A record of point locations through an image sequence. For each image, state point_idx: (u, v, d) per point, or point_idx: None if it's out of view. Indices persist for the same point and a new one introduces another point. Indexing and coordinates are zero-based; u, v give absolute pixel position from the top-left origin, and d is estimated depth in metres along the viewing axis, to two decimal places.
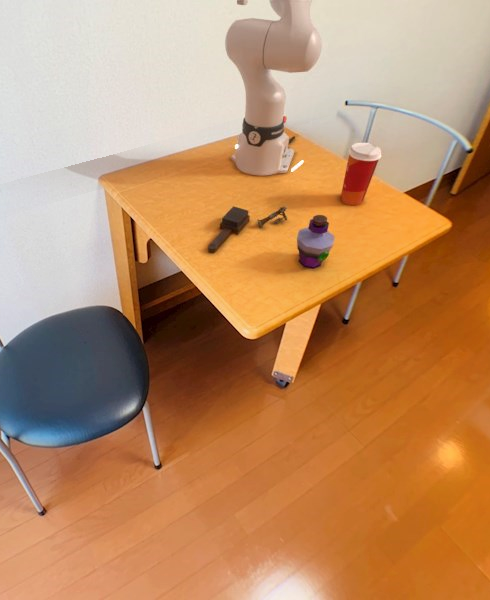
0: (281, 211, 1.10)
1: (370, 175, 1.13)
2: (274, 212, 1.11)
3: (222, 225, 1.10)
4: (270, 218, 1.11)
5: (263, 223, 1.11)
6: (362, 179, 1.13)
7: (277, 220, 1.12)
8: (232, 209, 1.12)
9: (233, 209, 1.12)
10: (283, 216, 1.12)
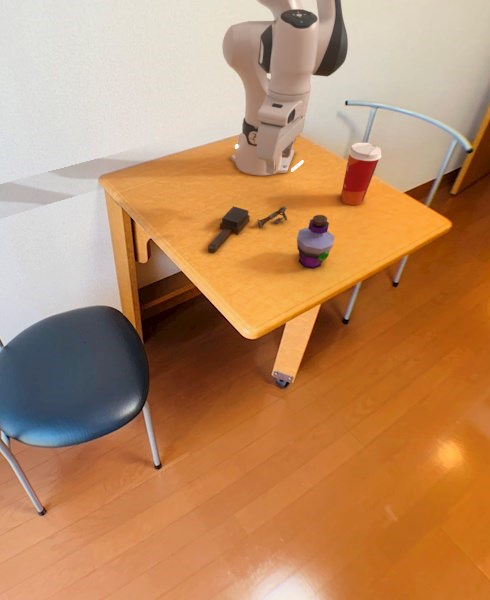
0: (281, 211, 1.10)
1: (370, 175, 1.13)
2: (274, 212, 1.11)
3: (222, 225, 1.10)
4: (270, 218, 1.11)
5: (263, 223, 1.11)
6: (362, 179, 1.13)
7: (277, 220, 1.12)
8: (232, 209, 1.12)
9: (233, 209, 1.12)
10: (283, 216, 1.12)
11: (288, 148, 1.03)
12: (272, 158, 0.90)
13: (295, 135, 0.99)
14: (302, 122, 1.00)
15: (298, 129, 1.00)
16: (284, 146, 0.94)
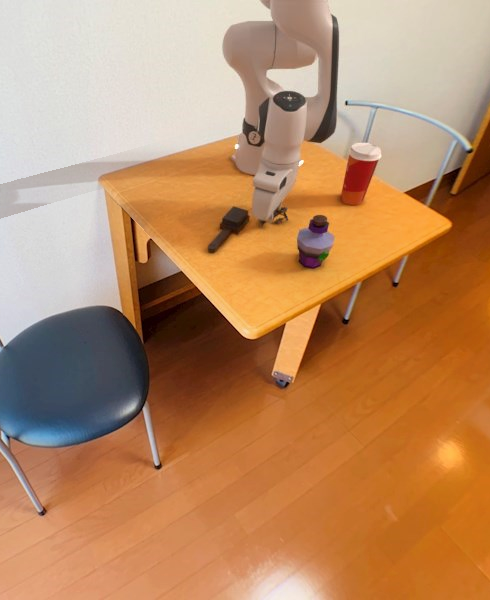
0: (282, 211, 1.10)
1: (370, 175, 1.13)
2: (275, 212, 1.11)
3: (222, 225, 1.10)
4: None
5: (263, 222, 1.11)
6: (362, 179, 1.13)
7: (278, 220, 1.12)
8: (232, 209, 1.12)
9: (233, 209, 1.12)
10: (284, 216, 1.12)
11: (277, 207, 1.11)
12: (266, 218, 1.01)
13: (287, 192, 1.09)
14: (294, 179, 1.10)
15: (290, 186, 1.10)
16: (277, 205, 1.05)
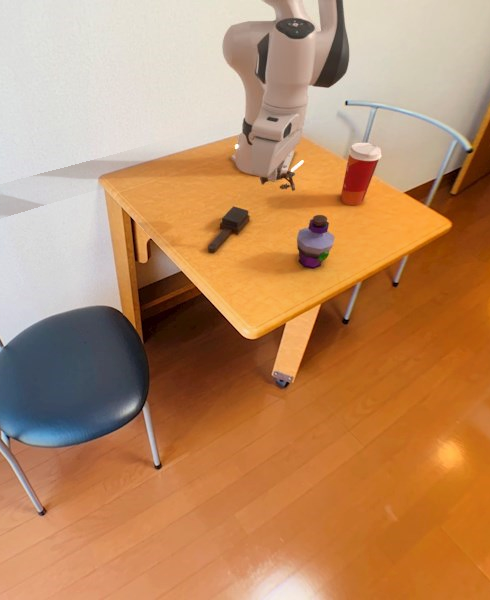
0: (287, 175, 0.94)
1: (370, 175, 1.13)
2: (281, 174, 0.96)
3: (222, 225, 1.10)
4: None
5: (265, 180, 0.98)
6: (362, 179, 1.13)
7: (282, 185, 0.97)
8: (232, 209, 1.12)
9: (233, 209, 1.12)
10: (291, 184, 0.96)
11: (279, 167, 0.96)
12: (267, 174, 0.86)
13: (292, 148, 0.94)
14: (299, 134, 0.96)
15: (295, 142, 0.95)
16: (280, 160, 0.90)
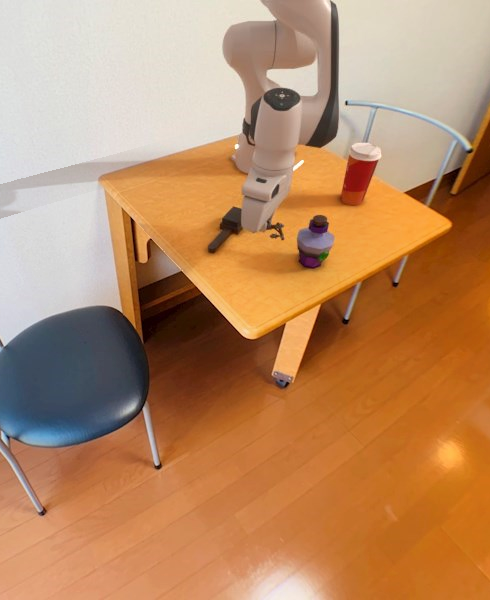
0: (276, 226, 0.99)
1: (370, 175, 1.13)
2: (271, 224, 1.00)
3: (222, 225, 1.10)
4: None
5: None
6: (362, 179, 1.13)
7: (272, 235, 1.01)
8: (232, 209, 1.12)
9: (233, 209, 1.12)
10: (280, 234, 1.00)
11: (269, 218, 1.00)
12: (257, 230, 0.90)
13: (281, 200, 0.99)
14: (288, 186, 1.00)
15: (284, 194, 1.00)
16: (269, 215, 0.94)
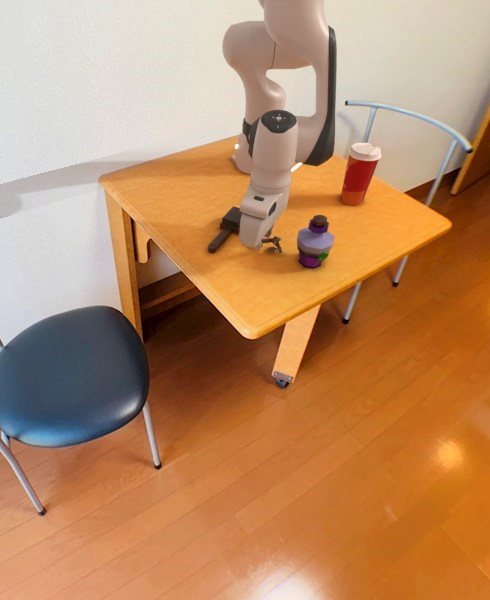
0: (273, 240, 1.01)
1: (370, 175, 1.13)
2: (268, 238, 1.03)
3: (222, 225, 1.10)
4: (262, 241, 1.04)
5: None
6: (362, 179, 1.13)
7: (270, 248, 1.04)
8: (232, 209, 1.12)
9: (233, 209, 1.12)
10: None
11: (269, 228, 1.04)
12: (254, 246, 0.93)
13: (278, 215, 1.02)
14: None
15: (282, 209, 1.03)
16: (267, 230, 0.97)
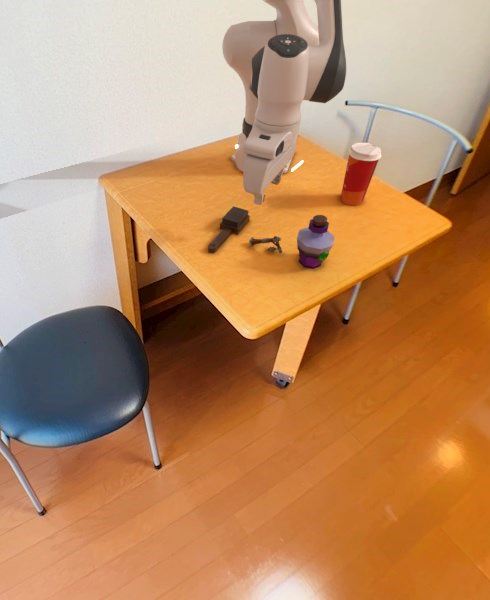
0: (273, 240, 1.01)
1: (370, 175, 1.13)
2: (268, 238, 1.03)
3: (222, 225, 1.10)
4: (262, 241, 1.04)
5: (254, 243, 1.05)
6: (362, 179, 1.13)
7: (270, 248, 1.04)
8: (232, 209, 1.12)
9: (233, 209, 1.12)
10: None
11: (278, 175, 0.97)
12: (259, 192, 0.85)
13: (285, 162, 0.93)
14: (293, 148, 0.94)
15: (289, 156, 0.94)
16: (273, 176, 0.89)
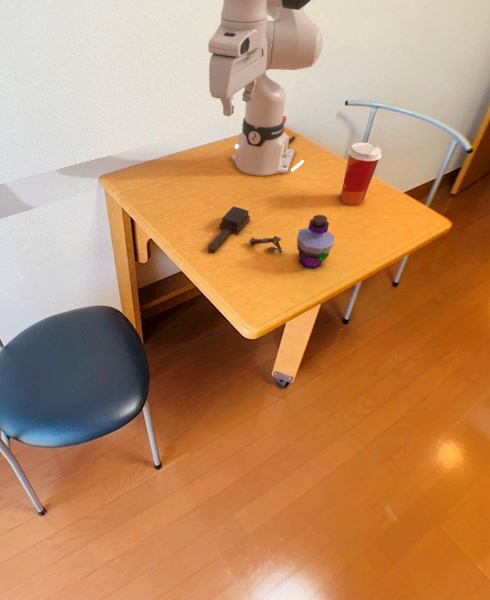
0: (273, 240, 1.01)
1: (370, 175, 1.13)
2: (268, 238, 1.03)
3: (222, 225, 1.10)
4: (262, 241, 1.04)
5: (254, 243, 1.05)
6: (362, 179, 1.13)
7: (270, 248, 1.04)
8: (232, 209, 1.12)
9: (233, 209, 1.12)
10: None
11: (249, 91, 0.95)
12: (226, 95, 0.83)
13: (255, 75, 0.91)
14: (263, 61, 0.93)
15: (259, 69, 0.92)
16: (241, 84, 0.87)
